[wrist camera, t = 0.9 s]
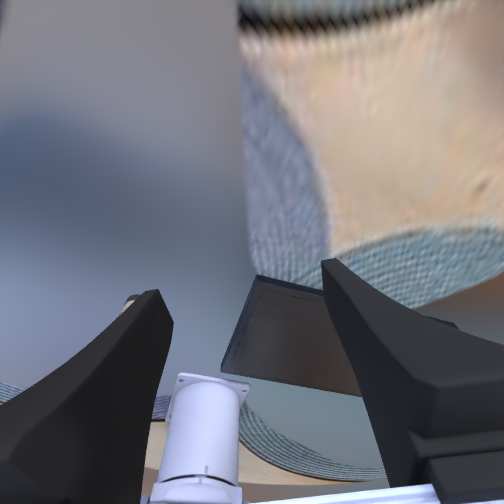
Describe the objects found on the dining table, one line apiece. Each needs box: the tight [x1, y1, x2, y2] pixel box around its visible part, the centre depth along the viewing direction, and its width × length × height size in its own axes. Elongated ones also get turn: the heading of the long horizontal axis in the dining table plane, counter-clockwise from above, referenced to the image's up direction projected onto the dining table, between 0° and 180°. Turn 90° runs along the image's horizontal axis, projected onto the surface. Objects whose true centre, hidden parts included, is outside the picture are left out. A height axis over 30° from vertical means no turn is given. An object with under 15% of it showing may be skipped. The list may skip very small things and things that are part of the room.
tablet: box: [221, 275, 459, 397], centre depth 28 cm, size 12×20×1 cm, turn 72°
